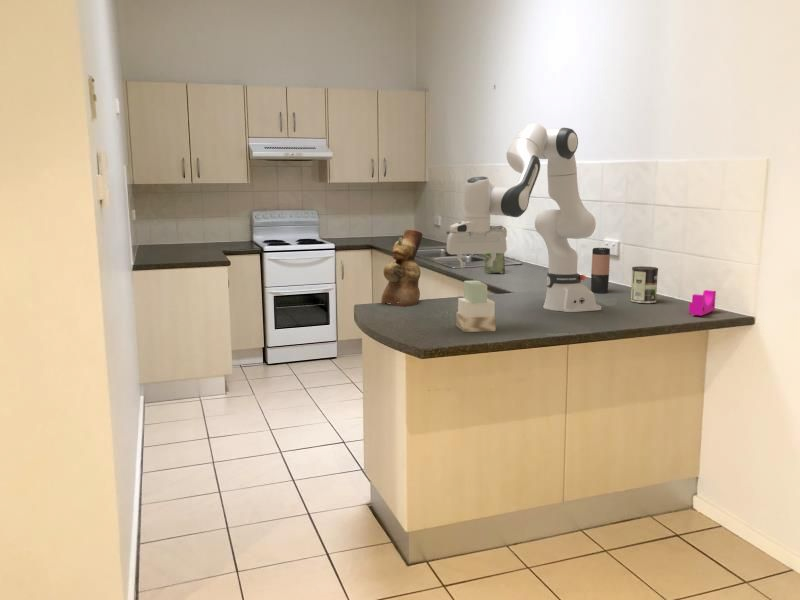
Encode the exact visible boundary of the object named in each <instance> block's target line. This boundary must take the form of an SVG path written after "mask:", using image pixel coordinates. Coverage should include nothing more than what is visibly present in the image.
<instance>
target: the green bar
mask: <svg viewBox="0 0 800 600" xmlns="http://www.w3.org/2000/svg"><path fill="white" fill-rule="evenodd" d="M463 298H465V299H466V300H468V301H470V302H471V303H487V298H488V284H486V283H485V282H482V281H481V280H476V279H475V280H464V281H463Z"/></svg>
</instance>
